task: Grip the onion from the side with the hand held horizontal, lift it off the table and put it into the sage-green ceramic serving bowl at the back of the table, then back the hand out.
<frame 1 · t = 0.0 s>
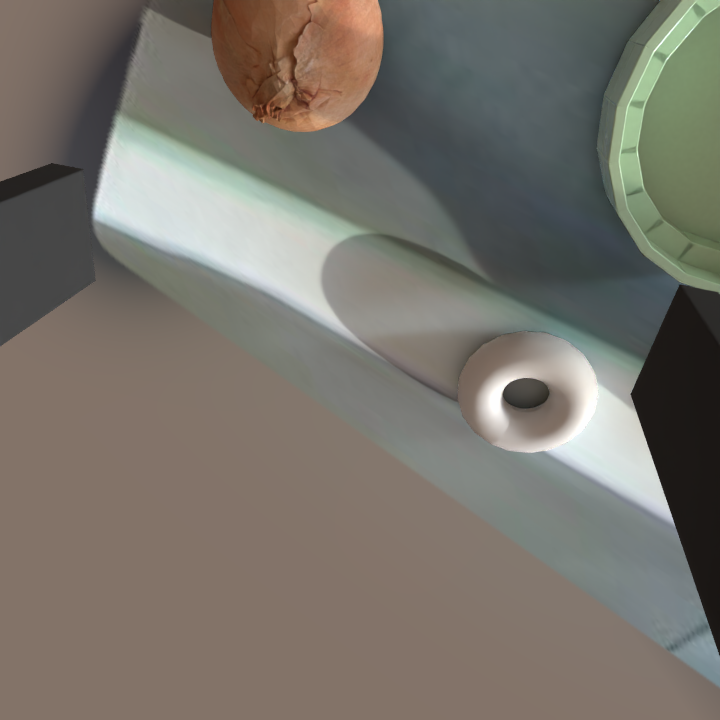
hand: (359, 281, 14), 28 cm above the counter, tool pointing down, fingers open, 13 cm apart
donut: (524, 380, 46), on the counter
onion: (319, 34, 37), on the counter
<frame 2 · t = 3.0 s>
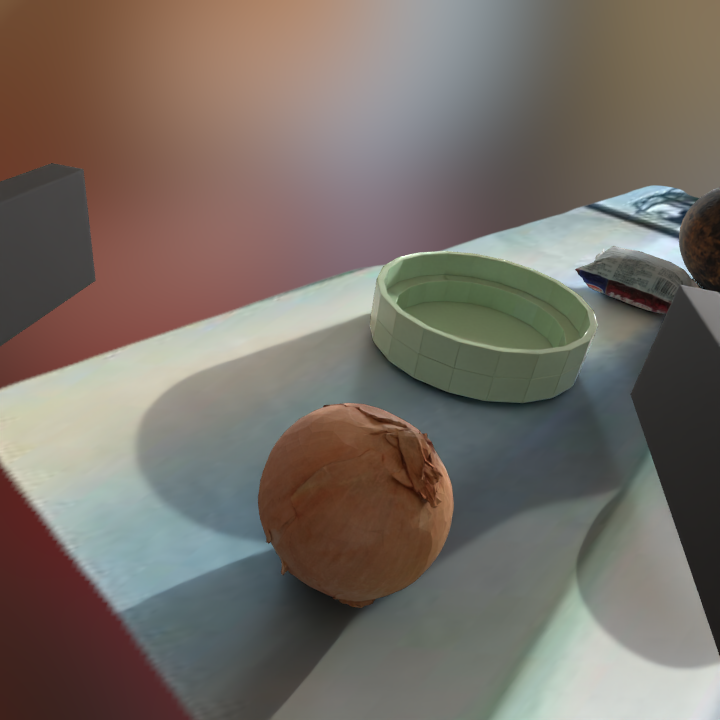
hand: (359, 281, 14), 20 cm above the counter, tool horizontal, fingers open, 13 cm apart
packaged food: (631, 299, 68), on the counter
onion: (344, 559, 32), on the counter
bowl: (472, 345, 53), on the counter
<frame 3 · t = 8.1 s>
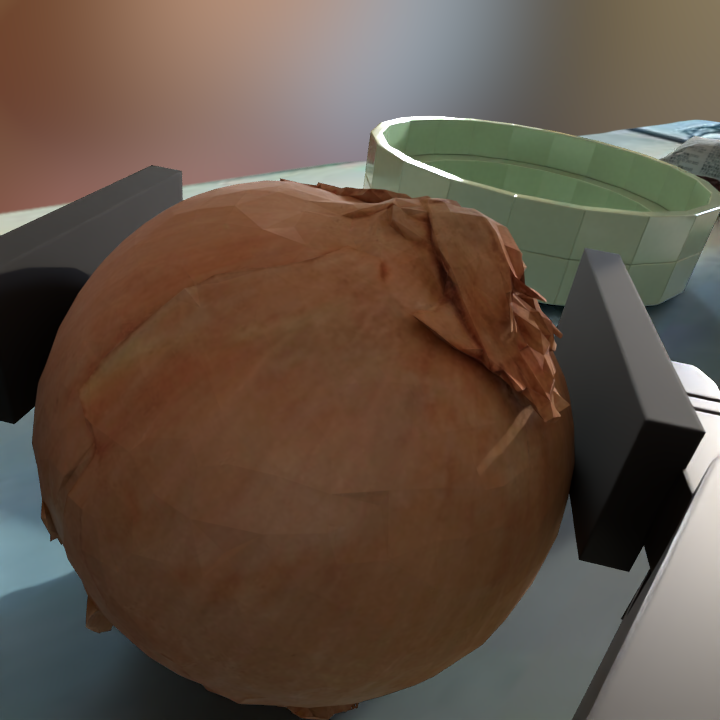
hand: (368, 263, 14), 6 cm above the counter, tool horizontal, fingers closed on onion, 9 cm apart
packaged food: (719, 209, 50), on the counter
onion: (294, 579, 14), on the counter, touching gripper
bowl: (515, 244, 35), on the counter
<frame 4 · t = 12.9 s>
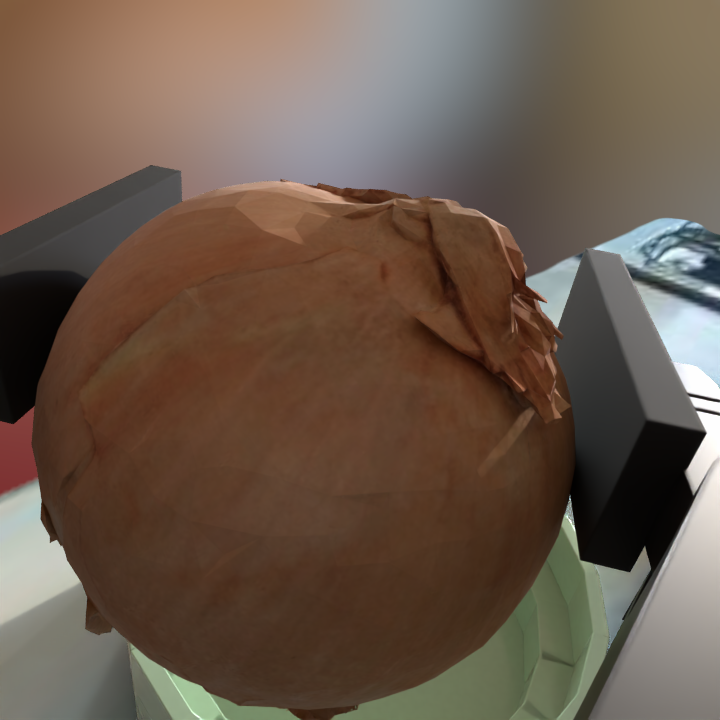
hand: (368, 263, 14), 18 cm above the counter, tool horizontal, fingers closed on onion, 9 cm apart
onion: (295, 580, 14), point 12 cm above the counter, touching gripper
bowl: (354, 623, 26), on the counter
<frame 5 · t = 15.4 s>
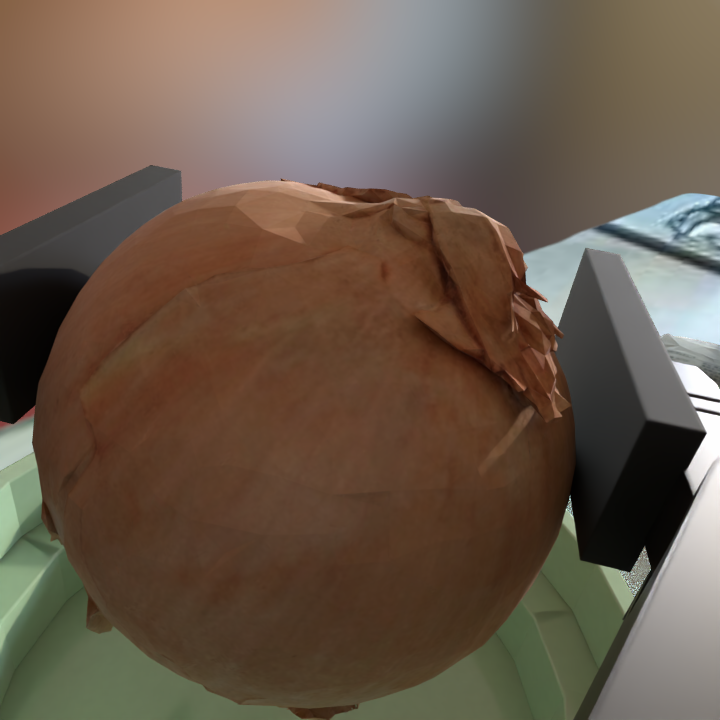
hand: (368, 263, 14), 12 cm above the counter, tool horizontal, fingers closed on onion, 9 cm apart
packaged food: (707, 447, 32), on the counter
onion: (295, 579, 14), point 6 cm above the counter, touching gripper
bowl: (278, 717, 17), on the counter
when the fingers open (7 cm above the counter, at t = 17.6 s): onion stays where it is, resting on bowl.
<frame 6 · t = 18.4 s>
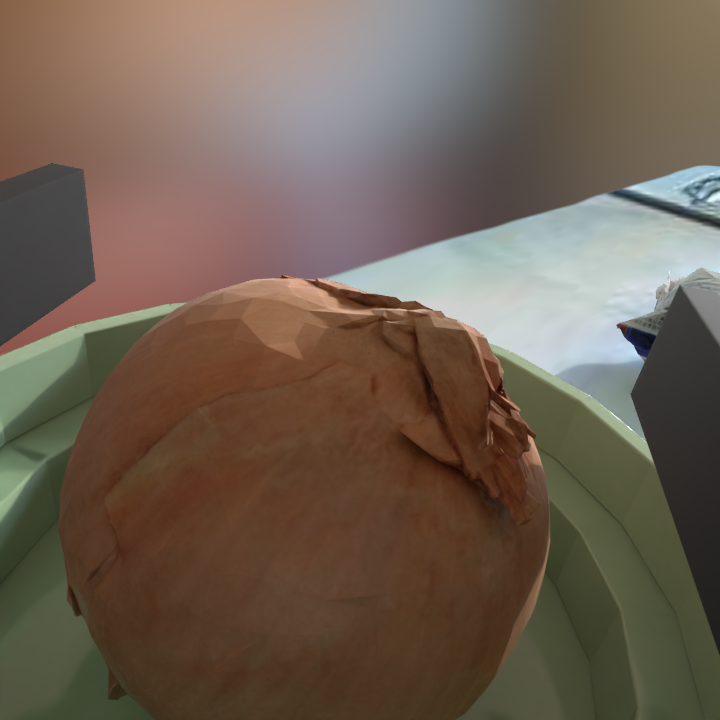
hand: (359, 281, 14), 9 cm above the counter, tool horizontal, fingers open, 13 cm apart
onion: (295, 630, 15), resting on bowl
bowl: (294, 641, 15), on the counter
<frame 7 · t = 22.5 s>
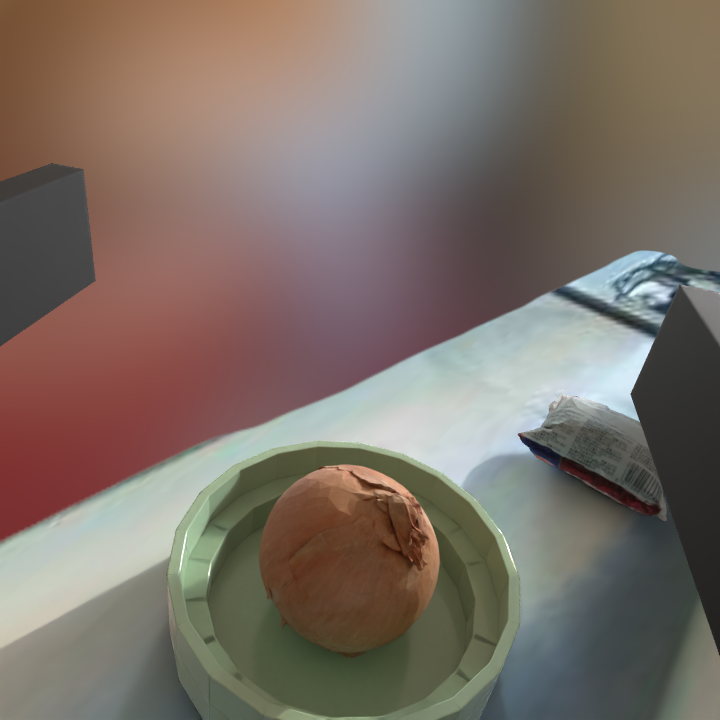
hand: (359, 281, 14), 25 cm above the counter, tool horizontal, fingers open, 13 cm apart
packaged food: (597, 470, 49), on the counter
onion: (339, 607, 35), resting on bowl
bowl: (338, 612, 35), on the counter
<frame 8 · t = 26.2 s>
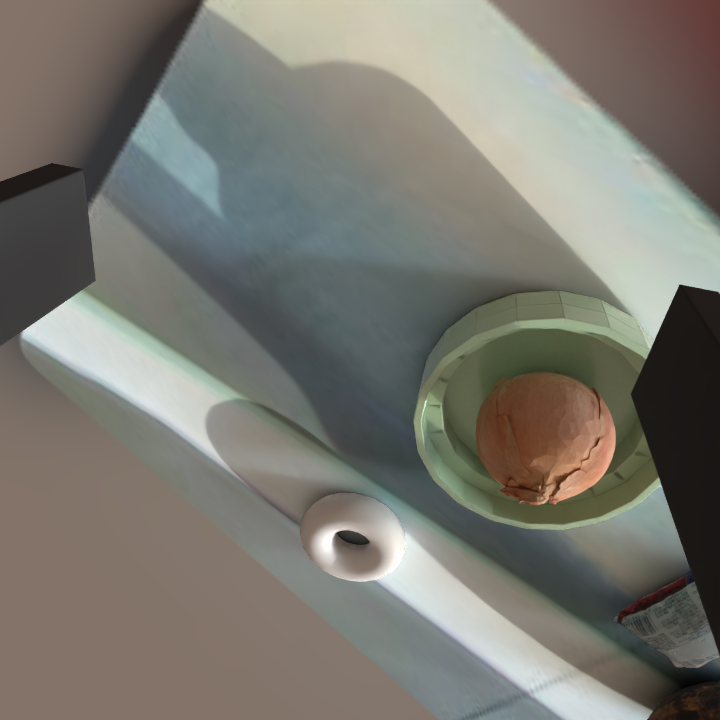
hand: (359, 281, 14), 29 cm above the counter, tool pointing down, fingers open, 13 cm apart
donut: (356, 523, 58), on the counter
packaged food: (694, 596, 54), on the counter
onion: (539, 399, 47), resting on bowl
bowl: (538, 396, 47), on the counter
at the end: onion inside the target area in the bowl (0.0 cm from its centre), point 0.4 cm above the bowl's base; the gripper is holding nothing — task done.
